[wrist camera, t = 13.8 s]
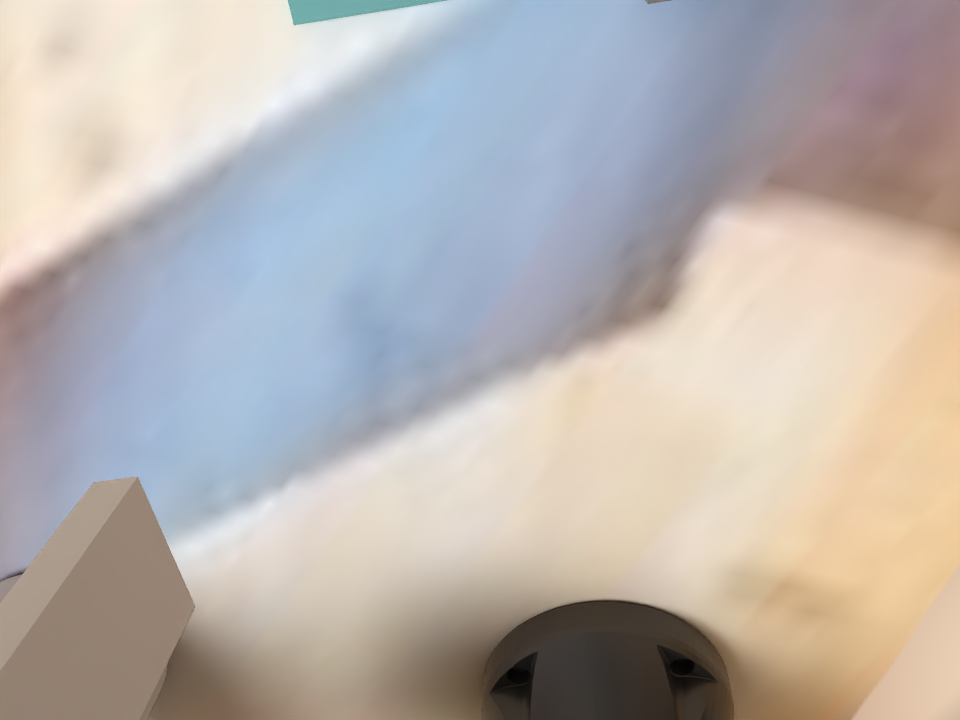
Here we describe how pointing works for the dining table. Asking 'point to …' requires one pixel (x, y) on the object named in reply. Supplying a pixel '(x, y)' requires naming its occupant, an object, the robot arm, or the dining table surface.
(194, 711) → the dining table surface
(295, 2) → the mat
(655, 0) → the grey socket plate
